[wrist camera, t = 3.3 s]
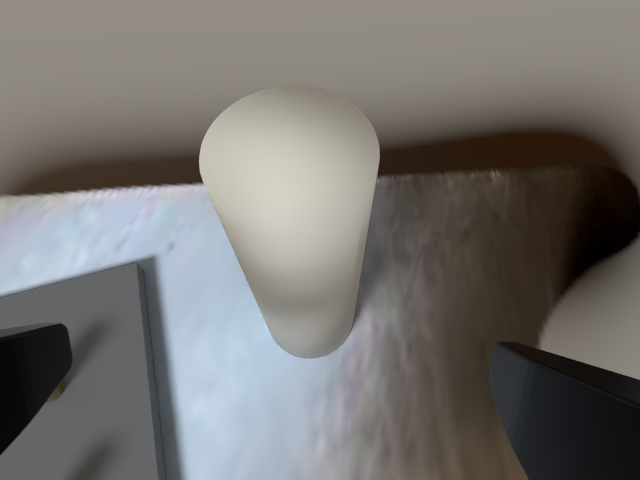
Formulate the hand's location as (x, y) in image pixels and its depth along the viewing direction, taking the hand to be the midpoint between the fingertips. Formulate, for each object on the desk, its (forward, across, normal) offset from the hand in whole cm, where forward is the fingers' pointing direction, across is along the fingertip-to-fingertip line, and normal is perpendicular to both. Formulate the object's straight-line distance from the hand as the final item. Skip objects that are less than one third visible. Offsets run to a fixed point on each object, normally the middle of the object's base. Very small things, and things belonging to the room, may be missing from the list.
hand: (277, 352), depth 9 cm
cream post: (+12, 0, -5) cm, 13 cm away
